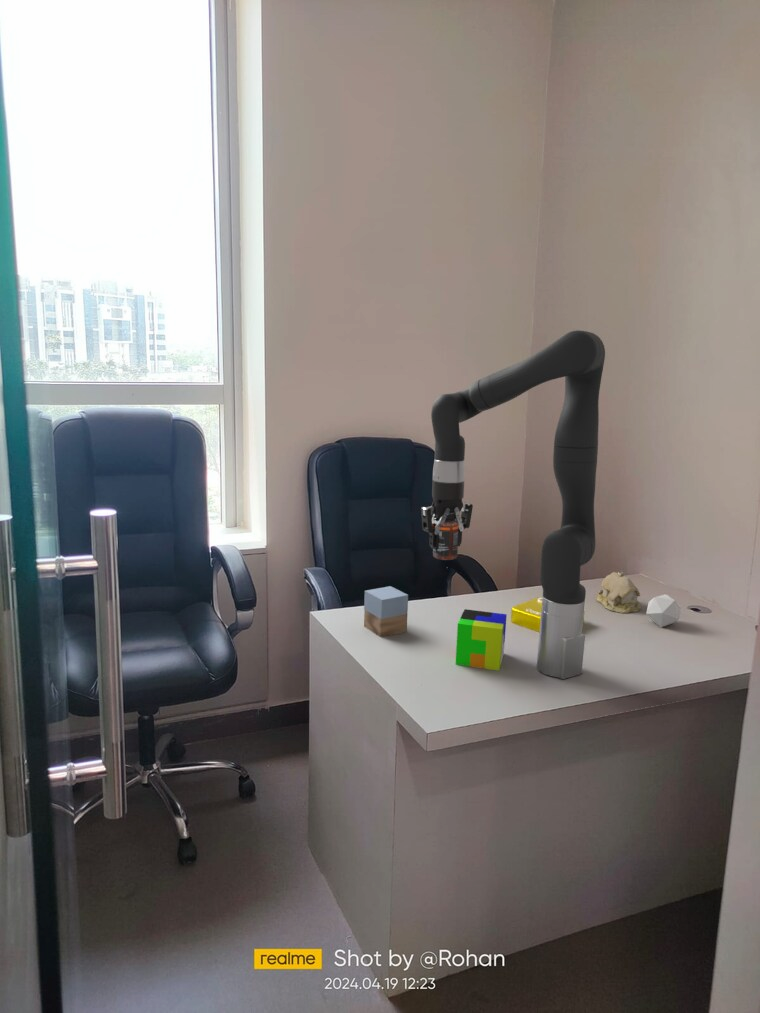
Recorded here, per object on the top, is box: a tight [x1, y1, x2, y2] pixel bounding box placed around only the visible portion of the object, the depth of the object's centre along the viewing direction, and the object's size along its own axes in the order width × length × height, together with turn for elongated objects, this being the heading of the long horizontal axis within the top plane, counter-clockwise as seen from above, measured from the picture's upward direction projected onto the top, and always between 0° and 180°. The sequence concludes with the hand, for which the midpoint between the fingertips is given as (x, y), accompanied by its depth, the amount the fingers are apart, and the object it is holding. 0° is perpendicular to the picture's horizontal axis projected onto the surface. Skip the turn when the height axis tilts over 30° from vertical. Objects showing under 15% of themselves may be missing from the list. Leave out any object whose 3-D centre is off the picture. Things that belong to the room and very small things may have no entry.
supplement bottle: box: [432, 513, 459, 561], centre depth 174 cm, size 6×6×11 cm
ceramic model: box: [596, 571, 641, 614], centre depth 210 cm, size 14×11×10 cm
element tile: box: [510, 596, 586, 633], centre depth 194 cm, size 15×15×5 cm
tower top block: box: [363, 585, 409, 619], centre depth 185 cm, size 8×8×5 cm
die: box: [645, 593, 682, 628], centre depth 195 cm, size 8×9×10 cm
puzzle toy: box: [455, 608, 507, 671], centre depth 169 cm, size 10×10×10 cm
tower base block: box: [363, 609, 408, 638], centre depth 186 cm, size 8×8×5 cm
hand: (445, 547), depth 175 cm, fingers closed on supplement bottle, 6 cm apart
